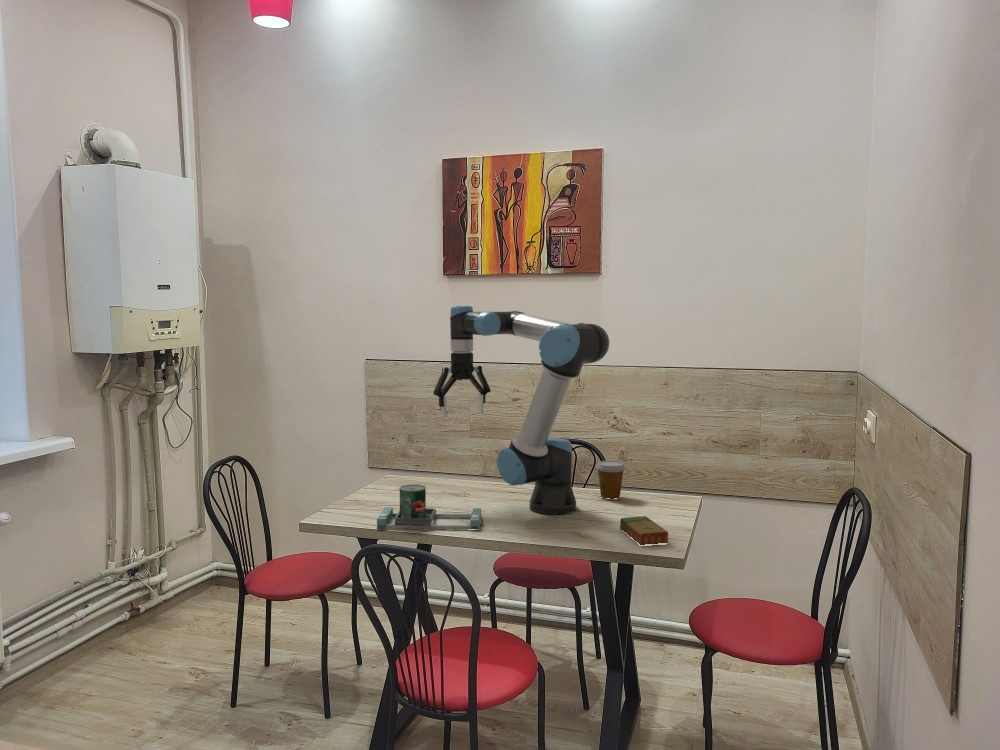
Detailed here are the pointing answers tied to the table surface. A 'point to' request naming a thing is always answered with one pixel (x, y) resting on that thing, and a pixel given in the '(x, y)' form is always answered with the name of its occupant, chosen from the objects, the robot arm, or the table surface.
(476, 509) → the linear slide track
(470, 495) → the table surface
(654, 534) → the carton
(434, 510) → the carriage
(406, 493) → the canned tomato
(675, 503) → the table surface
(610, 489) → the disposable coffee cup
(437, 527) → the rail
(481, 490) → the table surface
